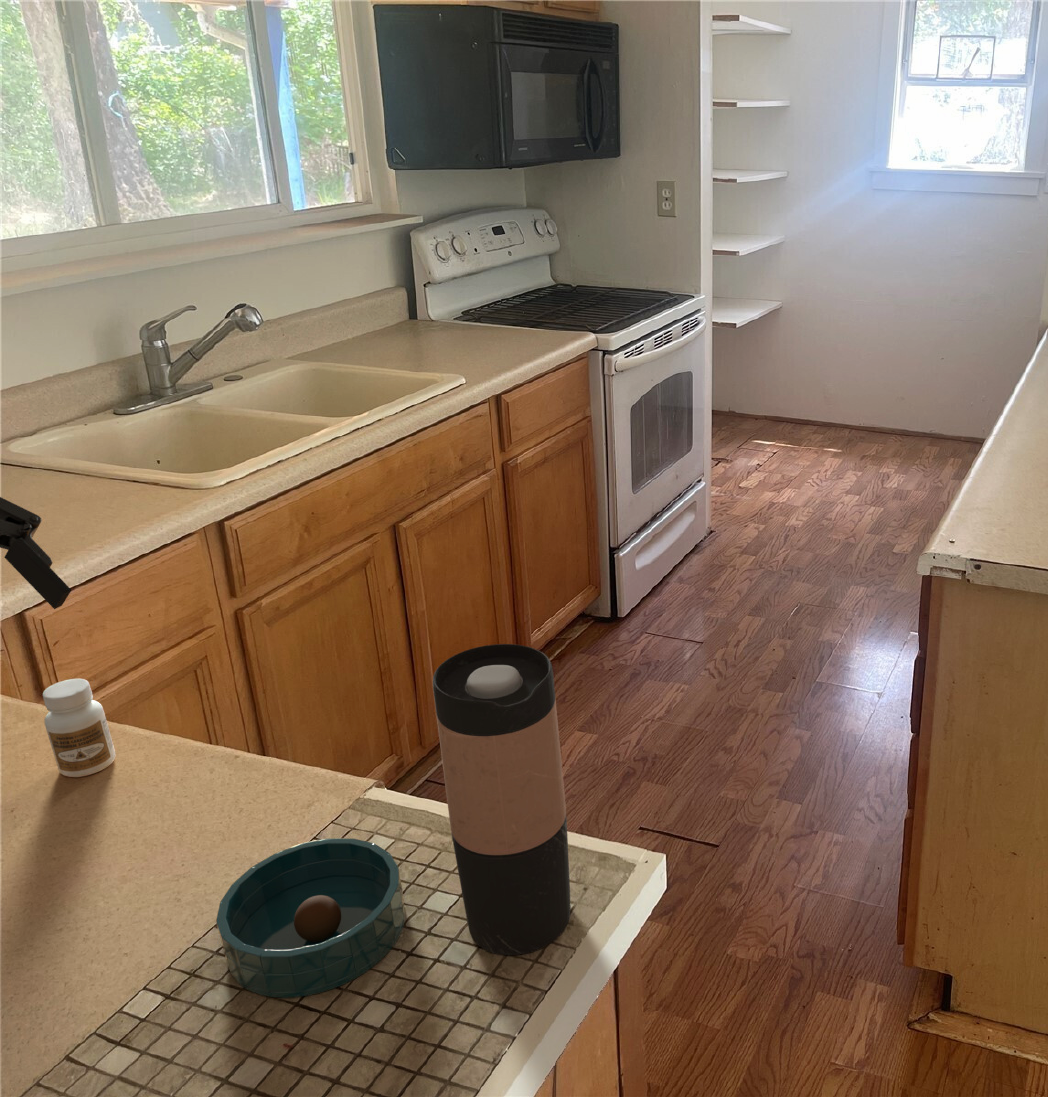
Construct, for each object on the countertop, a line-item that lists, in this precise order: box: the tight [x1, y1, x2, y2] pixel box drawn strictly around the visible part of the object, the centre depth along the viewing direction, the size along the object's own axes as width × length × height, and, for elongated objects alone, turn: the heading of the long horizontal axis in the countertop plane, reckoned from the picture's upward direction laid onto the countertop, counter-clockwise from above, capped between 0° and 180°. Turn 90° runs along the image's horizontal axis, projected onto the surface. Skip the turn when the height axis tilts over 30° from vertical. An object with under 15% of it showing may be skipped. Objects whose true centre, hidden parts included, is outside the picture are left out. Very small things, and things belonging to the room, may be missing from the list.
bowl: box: [215, 837, 406, 999], centre depth 71 cm, size 12×12×4 cm
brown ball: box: [294, 895, 341, 942], centre depth 70 cm, size 3×3×3 cm
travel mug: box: [432, 643, 571, 956], centre depth 69 cm, size 8×8×20 cm
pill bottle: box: [42, 678, 117, 778], centre depth 89 cm, size 4×4×8 cm
